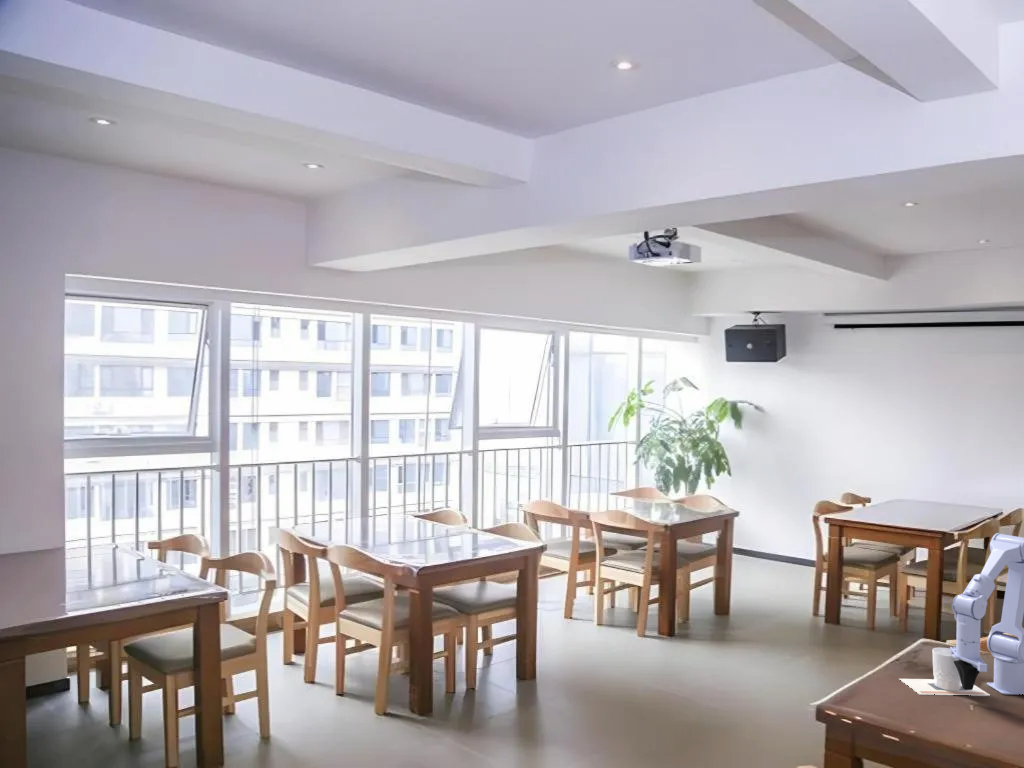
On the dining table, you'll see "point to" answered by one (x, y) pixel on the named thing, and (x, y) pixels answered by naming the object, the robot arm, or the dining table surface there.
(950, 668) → the white cup
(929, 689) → the menu card
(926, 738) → the dining table surface
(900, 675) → the dining table surface
